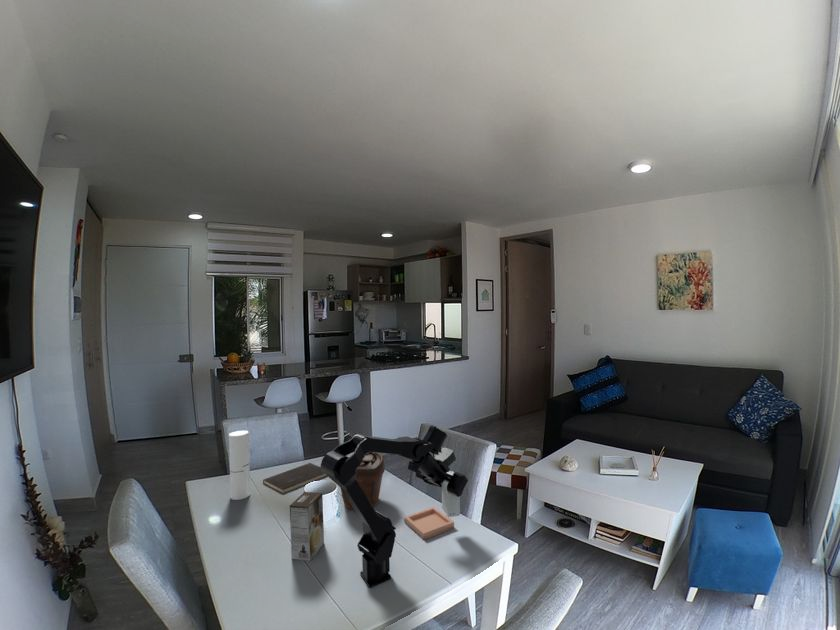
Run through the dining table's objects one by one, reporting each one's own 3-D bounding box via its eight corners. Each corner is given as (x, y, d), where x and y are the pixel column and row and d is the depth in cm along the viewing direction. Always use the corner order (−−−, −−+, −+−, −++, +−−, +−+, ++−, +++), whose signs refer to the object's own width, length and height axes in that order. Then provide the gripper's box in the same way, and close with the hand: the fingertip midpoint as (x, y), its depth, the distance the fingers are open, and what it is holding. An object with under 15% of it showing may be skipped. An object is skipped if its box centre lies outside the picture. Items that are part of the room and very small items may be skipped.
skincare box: (460, 515, 125) (461, 478, 124) (447, 517, 124) (448, 480, 123) (453, 505, 131) (453, 470, 130) (440, 507, 129) (441, 471, 129)
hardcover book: (330, 475, 174) (329, 470, 174) (282, 495, 157) (282, 489, 157) (309, 467, 185) (309, 462, 185) (262, 484, 167) (262, 479, 167)
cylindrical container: (254, 493, 157) (252, 432, 157) (237, 501, 151) (235, 437, 151) (243, 489, 161) (241, 429, 161) (226, 497, 155) (225, 434, 155)
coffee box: (305, 541, 124) (304, 490, 124) (324, 543, 122) (323, 492, 122) (290, 559, 115) (289, 505, 115) (310, 561, 113) (309, 506, 113)
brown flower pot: (392, 490, 157) (390, 446, 157) (378, 517, 137) (375, 466, 137) (349, 489, 160) (347, 445, 160) (330, 514, 140) (327, 465, 140)
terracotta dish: (423, 539, 123) (423, 533, 123) (404, 522, 133) (404, 517, 133) (454, 527, 129) (454, 521, 129) (433, 512, 139) (433, 506, 139)
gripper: (463, 449, 117) (486, 476, 125) (421, 436, 131) (444, 460, 138) (445, 483, 112) (471, 509, 119) (403, 465, 126) (429, 489, 133)
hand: (453, 490), depth 128 cm, fingers closed on skincare box, 7 cm apart
